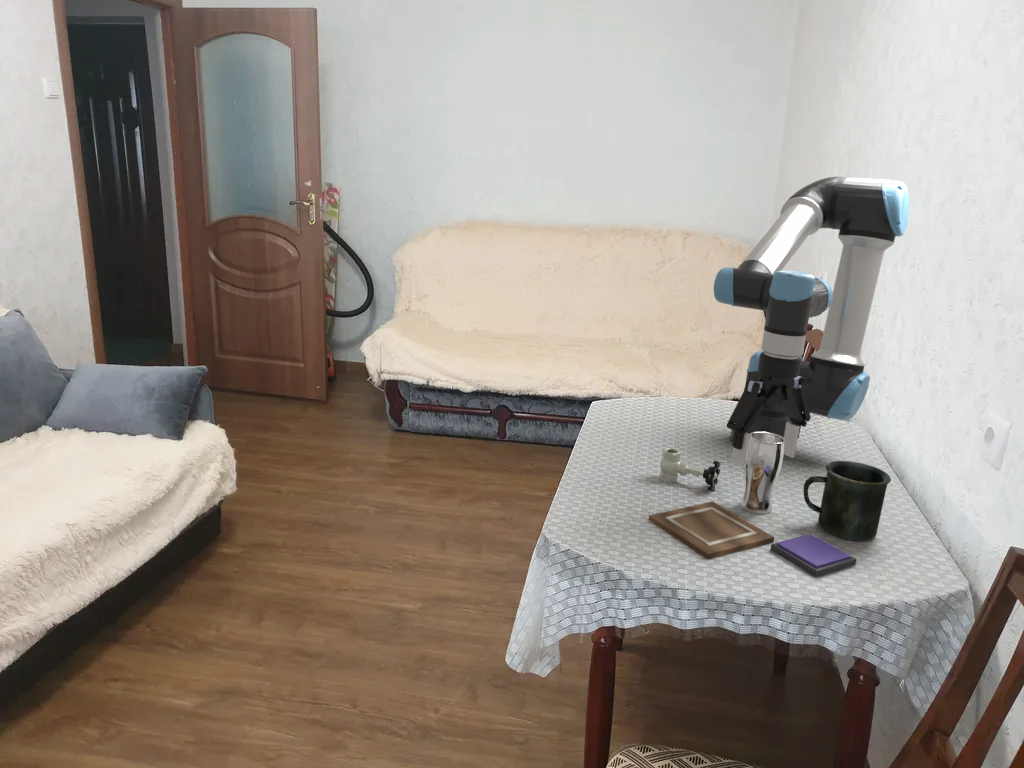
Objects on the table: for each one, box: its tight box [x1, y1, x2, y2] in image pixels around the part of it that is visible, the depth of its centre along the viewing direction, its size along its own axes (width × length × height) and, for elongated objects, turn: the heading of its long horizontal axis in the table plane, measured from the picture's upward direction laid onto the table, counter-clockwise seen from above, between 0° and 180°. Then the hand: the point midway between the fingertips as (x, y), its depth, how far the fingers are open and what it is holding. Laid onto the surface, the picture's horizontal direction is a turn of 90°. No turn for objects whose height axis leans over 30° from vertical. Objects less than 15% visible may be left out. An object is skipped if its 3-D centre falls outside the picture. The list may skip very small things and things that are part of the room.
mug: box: [803, 460, 892, 542], centre depth 146 cm, size 11×15×12 cm
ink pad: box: [769, 533, 858, 578], centre depth 135 cm, size 10×10×2 cm
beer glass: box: [739, 432, 785, 515], centre depth 152 cm, size 7×7×15 cm
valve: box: [659, 447, 722, 492], centre depth 163 cm, size 7×7×12 cm
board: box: [648, 501, 775, 560], centre depth 143 cm, size 16×16×1 cm
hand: (763, 459), depth 151 cm, fingers open, 13 cm apart
